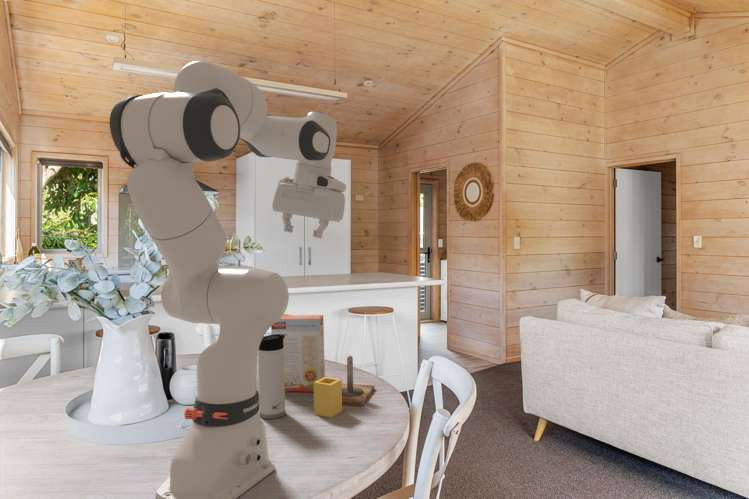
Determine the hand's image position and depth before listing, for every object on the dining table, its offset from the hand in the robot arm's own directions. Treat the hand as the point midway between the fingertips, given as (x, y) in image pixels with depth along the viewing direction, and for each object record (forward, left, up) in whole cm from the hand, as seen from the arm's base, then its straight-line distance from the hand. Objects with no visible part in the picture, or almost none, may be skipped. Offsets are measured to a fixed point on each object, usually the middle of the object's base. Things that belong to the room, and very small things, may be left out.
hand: (302, 234), depth 130 cm
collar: (-1, -6, -44) cm, 45 cm away
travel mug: (-5, +7, -45) cm, 45 cm away
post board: (+12, -8, -44) cm, 47 cm away
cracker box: (+15, +8, -45) cm, 48 cm away
